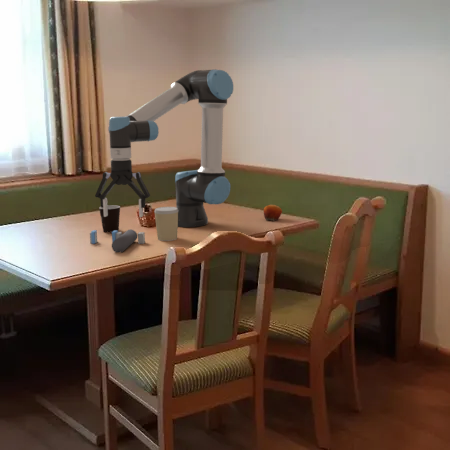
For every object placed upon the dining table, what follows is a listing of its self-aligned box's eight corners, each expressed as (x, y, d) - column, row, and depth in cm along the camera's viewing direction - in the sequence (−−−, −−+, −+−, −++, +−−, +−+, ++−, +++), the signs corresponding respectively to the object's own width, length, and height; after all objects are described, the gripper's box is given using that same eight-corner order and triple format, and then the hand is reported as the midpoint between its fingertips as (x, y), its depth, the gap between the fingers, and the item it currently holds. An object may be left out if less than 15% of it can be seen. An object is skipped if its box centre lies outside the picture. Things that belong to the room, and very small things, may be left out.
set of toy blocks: (144, 242, 257) (144, 230, 256) (142, 244, 254) (142, 232, 253) (92, 241, 260) (91, 230, 259) (89, 243, 257) (89, 231, 256)
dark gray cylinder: (138, 241, 259) (136, 228, 258) (126, 252, 242) (123, 238, 241) (125, 242, 259) (123, 230, 258) (112, 253, 243) (110, 240, 242)
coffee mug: (117, 233, 274) (115, 209, 272) (97, 232, 276) (95, 208, 273) (126, 227, 285) (125, 204, 283) (107, 226, 287) (106, 203, 285)
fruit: (259, 218, 289) (262, 201, 291) (264, 224, 296) (267, 208, 298) (277, 220, 286) (280, 202, 288) (282, 226, 293) (284, 209, 295)
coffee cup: (182, 236, 266) (181, 206, 263) (175, 241, 257) (174, 211, 254) (159, 235, 268) (158, 206, 265) (152, 241, 259) (151, 210, 256)
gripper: (84, 160, 242) (87, 217, 246) (151, 160, 239) (153, 218, 243) (91, 158, 249) (94, 213, 253) (156, 158, 246) (158, 214, 250)
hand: (123, 216), depth 248 cm, fingers open, 13 cm apart
